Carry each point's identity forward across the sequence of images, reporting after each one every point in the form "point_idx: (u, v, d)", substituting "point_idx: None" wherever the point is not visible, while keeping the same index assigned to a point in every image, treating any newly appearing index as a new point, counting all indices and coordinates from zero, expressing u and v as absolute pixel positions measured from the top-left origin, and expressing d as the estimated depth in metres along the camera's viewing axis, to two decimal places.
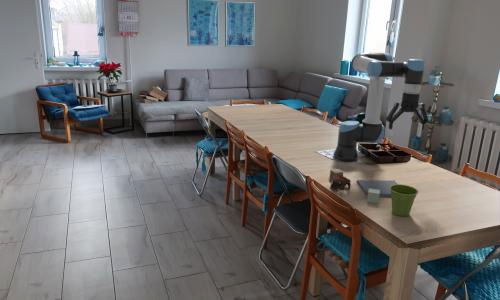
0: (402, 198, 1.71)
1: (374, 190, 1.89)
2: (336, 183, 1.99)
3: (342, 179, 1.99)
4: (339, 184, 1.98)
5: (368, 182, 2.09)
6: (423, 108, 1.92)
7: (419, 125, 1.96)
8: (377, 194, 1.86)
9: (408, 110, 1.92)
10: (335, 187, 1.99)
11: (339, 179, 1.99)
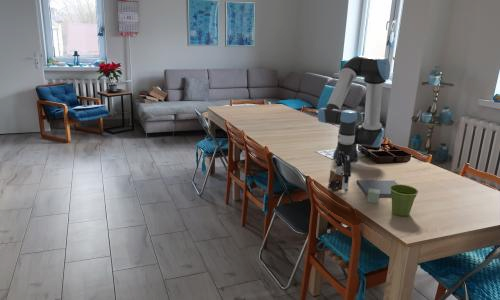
0: (402, 198, 1.71)
1: (374, 190, 1.89)
2: (334, 182, 1.99)
3: (340, 178, 1.99)
4: (337, 183, 1.99)
5: (368, 182, 2.09)
6: (345, 160, 1.91)
7: None
8: (377, 194, 1.86)
9: (341, 158, 1.98)
10: (333, 186, 2.00)
11: (337, 178, 2.00)
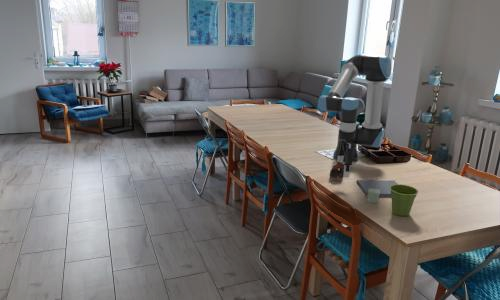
0: (402, 198, 1.71)
1: (374, 190, 1.89)
2: (335, 170, 1.97)
3: (341, 166, 1.97)
4: (338, 171, 1.97)
5: (368, 182, 2.09)
6: (346, 148, 1.89)
7: None
8: (377, 194, 1.86)
9: (342, 146, 1.96)
10: (334, 174, 1.98)
11: (338, 166, 1.97)
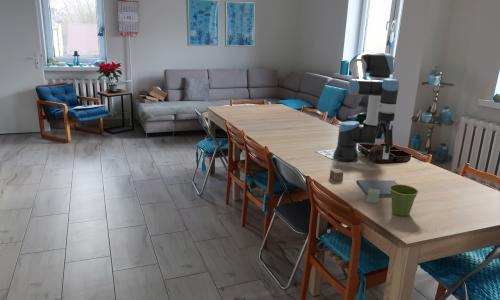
0: (402, 198, 1.71)
1: (374, 190, 1.89)
2: (374, 152, 1.96)
3: (380, 148, 1.96)
4: (377, 153, 1.95)
5: (368, 182, 2.09)
6: (386, 130, 1.88)
7: None
8: (377, 194, 1.86)
9: (381, 128, 1.95)
10: (372, 156, 1.96)
11: (377, 148, 1.96)
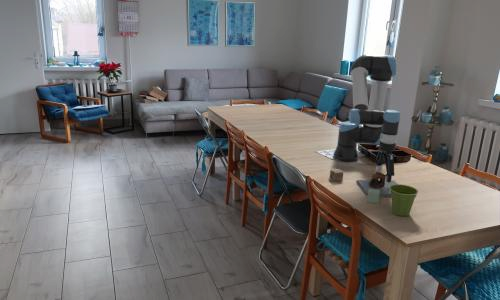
0: (402, 198, 1.71)
1: (374, 190, 1.89)
2: (375, 180, 2.00)
3: (381, 176, 2.00)
4: (379, 181, 2.00)
5: (368, 182, 2.09)
6: (388, 160, 1.92)
7: None
8: (377, 194, 1.86)
9: (383, 157, 2.00)
10: (374, 184, 2.01)
11: (378, 176, 2.00)
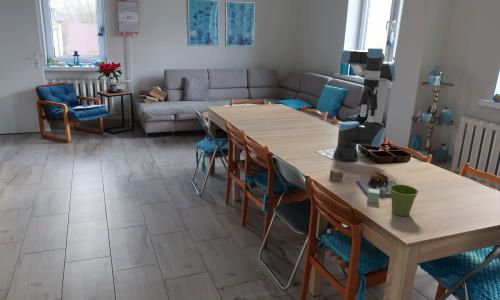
0: (402, 198, 1.71)
1: (374, 190, 1.89)
2: (374, 180, 2.00)
3: (380, 176, 2.00)
4: (378, 181, 2.00)
5: None
6: (371, 94, 2.03)
7: None
8: (377, 194, 1.86)
9: (367, 94, 2.10)
10: (373, 184, 2.01)
11: (377, 176, 2.01)
